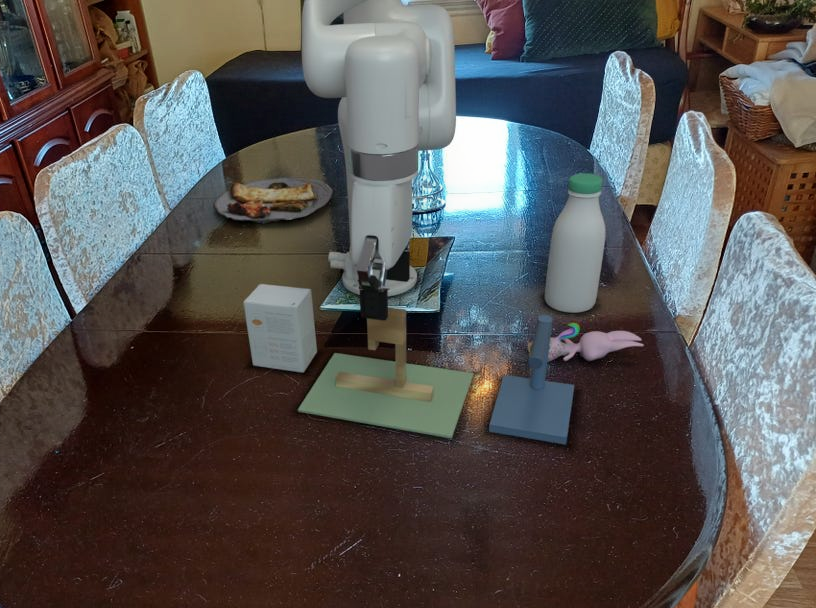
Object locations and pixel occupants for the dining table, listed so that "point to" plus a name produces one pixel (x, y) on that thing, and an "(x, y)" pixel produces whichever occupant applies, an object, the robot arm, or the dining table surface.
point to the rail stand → (534, 397)
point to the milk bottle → (577, 248)
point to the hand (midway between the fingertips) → (386, 298)
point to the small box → (281, 327)
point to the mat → (390, 396)
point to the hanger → (396, 334)
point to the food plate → (273, 199)
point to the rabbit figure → (589, 343)
